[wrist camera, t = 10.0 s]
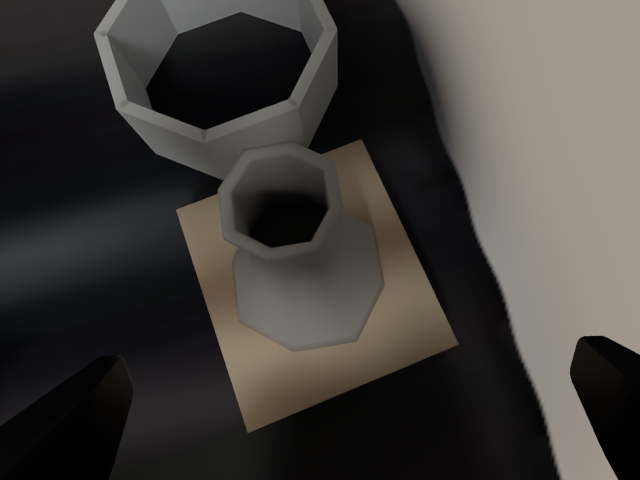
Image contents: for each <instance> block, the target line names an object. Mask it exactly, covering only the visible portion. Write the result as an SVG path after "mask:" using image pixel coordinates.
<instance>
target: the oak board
mask: <svg viewBox="0 0 640 480" xmlns="http://www.w3.org/2000/svg"><path fill="white" fill-rule="evenodd" d="M321 155H323V156H325V157H327V158H330V159H332V160H334V161H335V165H336V170H337V175H338V181H339V186H340V191H341V196H342V202H343V207H344V211H343V212H345V213H347V214H349V215H351V216H353V217H355V218H357V219H359V220H361V221H363V222H366V223H368V224H370V225H372V226H373V230H374V234H375V239H376V244H377V249H378V254H379V259H380V263H381V268H382V273H383V278H384V283H385V286H384V288H383V290H382V292H381V294H380V296H379V298H378V300H377V302H376V304H375V306H374V308H373V310H372V312H371V314H370V316H369V318H368V320H367V322H366V325H365V327H364V329H363V331H362V333H361V335H360V337H359V339H358V341H357V342H352V343H346V344H340V345H334V346H328V347H322V348H317V349H311V350H305V351H299V352H292V351H290V350H288V349H286V348H285V347H283V346H281V345H279V344H277V343H275V342H274V341H272V340H270V339H268V338H266V337H264V336H263V335H261V334H259V333H257V332H255V331H254V330H252V329H250V328H248V327H246V326H244V325H243V324H241V323H239V322H238V314H237V305H236V296H235V287H234V278H233V269H232V260H233V258H234V256H235V254H236V253H237V251H238V249H239V248H238V247H236V246H235V245H233V244H231V243H229V242H227V241H225V240H224V239H223V236H222V227H221V217H220V208H219V199H218V194H216V195H214V196H211V197H208V198H206V199H203V200H201V201H198V202H195V203H193V204H190V205H187V206H185V207H182V208H180V209H177V210H176V211H177V214H178V217H179V220H180V223H181V227H182V230H183V233H184V236H185V239H186V242H187V245H188V248H189V251H190V255H191V258H192V261H193V264H194V267H195V270H196V273H197V276H198V279H199V282H200V286H201V289H202V292H203V295H204V298H205V301H206V304H207V307H208V310H209V313H210V317H211V320H212V323H213V326H214V329H215V332H216V335H217V338H218V341H219V345H220V348H221V351H222V354H223V357H224V360H225V363H226V366H227V369H228V372H229V376H230V379H231V382H232V385H233V388H234V391H235V394H236V397H237V400H238V403H239V407H240V410H241V413H242V416H243V419H244V422H245V425H246V428H247V431H248V433H249V432H251V431H254V430H256V429H258V428H261V427H263V426H266V425H268V424H270V423H273V422H275V421H277V420H280V419H282V418H285V417H287V416H289V415H292V414H294V413H297V412H299V411H301V410H304V409H306V408H308V407H311V406H313V405H316V404H318V403H320V402H323V401H325V400H328V399H330V398H332V397H335V396H337V395H339V394H342V393H344V392H347V391H349V390H351V389H354V388H356V387H359V386H361V385H363V384H366V383H368V382H371V381H373V380H375V379H378V378H380V377H382V376H385V375H387V374H390V373H392V372H394V371H397V370H399V369H402V368H404V367H406V366H409V365H411V364H413V363H416V362H418V361H421V360H423V359H425V358H428V357H430V356H433V355H435V354H437V353H440V352H442V351H444V350H447V349H449V348H452V347H454V346H456V345H459V344H458V342H457V340H456V337H455V335H454V333H453V331H452V329H451V327H450V325H449V323H448V321H447V318H446V316H445V314H444V312H443V310H442V308H441V306H440V304H439V302H438V299H437V297H436V295H435V293H434V291H433V289H432V287H431V285H430V283H429V280H428V278H427V276H426V274H425V272H424V270H423V268H422V266H421V264H420V261H419V259H418V257H417V255H416V253H415V251H414V249H413V247H412V245H411V243H410V240H409V238H408V236H407V234H406V232H405V230H404V228H403V226H402V224H401V221H400V219H399V217H398V215H397V213H396V211H395V209H394V207H393V205H392V202H391V200H390V198H389V196H388V194H387V192H386V190H385V188H384V186H383V183H382V181H381V179H380V177H379V175H378V173H377V171H376V169H375V167H374V164H373V162H372V160H371V158H370V156H369V154H368V152H367V150H366V148H365V145H364V143H363V141H362V139H361V140H358V141H355V142H353V143H350V144H347V145H345V146H342V147H340V148H337V149H334V150H332V151H329V152H326V153H324V154H321Z"/></svg>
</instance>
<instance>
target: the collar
mask: <svg viewBox="0 0 640 480" xmlns="http://www.w3.org/2000/svg"><path fill="white" fill-rule="evenodd" d="M239 12H243V13H246V14H249V15H252V16H255V17H258V18H261V19H264V20H267V21H270V22H273V23H276V24H279V25H282V26H285V27H288V28H291V29H294V30H297V31H300V32H302V34H303V37H304V39H305V41H306V43H307V45H308V47H309V49H310V52H311V54H312V55H311V57H310V59H309V61H308V63H307V65H306V66H305V68H304V70H303V72H302V74H301V76H300V78H299V80H298V82H297V84H296V86H295V88H294V90H293V92H292V94H291V96H290V98H289V99H288V100H285V101H282V102H280V103H277V104H274V105H272V106H269V107H266V108H264V109H261V110H258V111H256V112H253V113H250V114H247V115H245V116H242V117H239V118H237V119H234V120H231V121H229V122H226V123H223V124H220V125H218V126H215V127H212V128H210V129H207V130H202V129H200V128H197V127H194V126H192V125H189V124H187V123H184V122H181V121H179V120H176V119H174V118H171V117H168V116H166V115H163V114H160V113H158V112H155V111H153V109H152V106H151V103H150V100H149V97H148V94H147V91H146V87H147V85H148V83H149V82H150V80H151V78H152V77H153V75H154V73H155V72H156V70H157V68H158V67H159V65H160V63H161V62H162V60H163V58H164V57H165V55H166V53H167V52H168V50H169V49H170V47H171V45H172V44H173V42H174V40H175V39H176V37H177V35H178V34H180V33H183V32H186V31H188V30H191V29H194V28H197V27H200V26H203V25H205V24H208V23H211V22H214V21H217V20H219V19H222V18H225V17H228V16H231V15H234V14H236V13H239ZM94 37H95V40H96V43H97V47H98V50H99V53H100V57H101V60H102V63H103V67H104V70H105V73H106V77H107V80H108V83H109V86H110V90H111V93H112V96H113V100H114V103H115V106H116V109H117V110H118V112H119V113H120V114H121V115H122V116H123V117H124V118H125V119H126V121H127V122H128V123H129V124H130V125H131V126H132V127H133V128H134V130H135V131H136V132H137V133H138V134H139V135H140V136H141V137H142V139H143V140H144V141H145V142H146V143H147V144H148V145H149V146H150V147H151V149H152V150H153V151H154V152H155V153H156V154H158V155H161V156H163V157H166V158H168V159H171V160H173V161H176V162H178V163H181V164H183V165H186V166H188V167H191V168H193V169H196V170H198V171H201V172H203V173H206V174H208V175H211V176H213V177H216V178H218V179H221V180H224V179H225V177H226V175H227V174H228V172H229V171H230V169H231V167H232V166H233V164H234V163H235V161H236V159H237V158H238V156H239V154H240V153H241V151H242V150H243V149H246V148H252V147H258V146H264V145H270V144H276V143H282V142H288V141H292V142H295V143H297V144H299V145H301V146H303V147H305V148H308V147H309V145H310V143H311V141H312V139H313V137H314V134H315V132H316V130H317V128H318V126H319V124H320V122H321V120H322V118H323V116H324V113H325V111H326V109H327V107H328V105H329V103H330V101H331V99H332V97H333V95H334V93H335V90H336V88H337V86H338V65H337V27H336V25H335V23H334V21H333V19H332V17H331V15H330V13H329V11H328V9H327V7H326V5H325V3H324V1H323V0H116V1H115V2H114V4H113V5H112V7H111V8H110V10H109V11H108V13H107V14H106V16H105V17H104V19H103V20H102V22H101V23H100V25H99V26H98V28H97V29H96V31H95V32H94Z"/></svg>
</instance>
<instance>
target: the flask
mask: <svg viewBox="0 0 640 480" xmlns="http://www.w3.org/2000/svg"><path fill="white" fill-rule="evenodd" d="M218 199H219V208H220V217H221V227H222V236H223V239H224V240H225V241H227V242H229V243H231V244H233V245H235V246H236V247H238V248H239V249H238V251H237V253H236V254H235V256H234V258H233V260H232V269H233V278H234V287H235V296H236V305H237V314H238V322H239V323H241V324H243V325H244V326H246V327H248V328H250V329H252V330H254V331H255V332H257V333H259V334H261V335H263V336H264V337H266V338H268V339H270V340H272V341H274V342H275V343H277V344H279V345H281V346H283V347H285V348H286V349H288V350H290V351H292V352H299V351H305V350H311V349H317V348H322V347H328V346H334V345H340V344H346V343H352V342H357V341H358V339H359V337H360V335H361V333H362V331H363V329H364V327H365V325H366V322H367V320H368V318H369V316H370V314H371V312H372V310H373V308H374V306H375V304H376V302H377V300H378V298H379V296H380V294H381V292H382V290H383V288H384V286H385V283H384V278H383V273H382V268H381V263H380V259H379V254H378V249H377V244H376V239H375V234H374V230H373V226H372V225H370V224H368V223H366V222H363V221H361V220H359V219H357V218H355V217H353V216H351V215H349V214H347V213H345V212H343V211H344V207H343V202H342V196H341V191H340V186H339V181H338V175H337V170H336V165H335V161H334V160H332V159H330V158H327V157H325V156H323V155H321V154H319V153H316V152H314V151H312V150H310V149H308V148H305V147H303V146H301V145H299V144H297V143H295V142H292V141H288V142H282V143H276V144H270V145H264V146H258V147H252V148H246V149H243V150H242V151H241V153H240V154H239V156H238V158H237V159H236V161H235V163H234V164H233V166H232V167H231V169H230V171H229V172H228V174H227V175H226V177H225V179H224V180H223V182H222V184H221V185H220V187H219V188H218Z"/></svg>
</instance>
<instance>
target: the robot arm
mask: <svg viewBox="0 0 640 480" xmlns="http://www.w3.org/2000/svg"><path fill="white" fill-rule="evenodd" d="M570 376H571V380H572V383H573V385H574V387H575V389H576V391H577V394H578V396H579V398H580V401H581V403H582V405H583V407H584V409H585V412H586V414H587V416H588V419H589V421H590V423H591V426H592V428H593V430H594V432H595V434H596V437H597V439H598V442H599V444H600V446H601V448H602V450H603V452H604V454H605V456H606V458H607V460H608V462H609V464H610V466H611V467H612V469H613V471H614V473H615V475H616V476H617V478H618V480H640V355H639V354H637V353H635V352H634V351H632V350H630V349H628V348H626V347H624V346H622V345H620V344H618V343H616V342H614V341H613V340H610V339H609V338H606V337H604V336H584V337H581V338H580V339H579V340H578V342H577V345H576V349H575V352H574V356H573V360H572V363H571V367H570ZM133 393H134V388H133V383H132V380H131V377H130V374H129V371H128V368H127V365H126V362H125V360H124V358H123V357H121V356H118V355H115V356H101V357H99V358H97V359H96V360H94V361H93V362H91V363H90V364H88V365H87V366H86V367H84V368H83V369H81V370H80V371H78V372H77V373H75V374H74V375H73V376H71V377H70V378H68V379H67V380H65V381H64V382H63V383H61V384H60V385H58V386H57V387H55V388H54V389H53V390H51V391H50V392H48V393H47V394H45V395H44V396H43V397H41V398H40V399H38V400H37V401H35V402H34V403H33V404H31V405H30V406H28V407H27V408H25V409H24V410H23V411H21V412H20V413H18V414H17V415H15V416H14V417H13V418H11V419H10V420H8V421H7V422H5V423H4V424H3V425H1V426H0V480H108V479H109V476H110V474H111V471H112V468H113V465H114V461H115V458H116V455H117V451H118V448H119V444H120V441H121V437H122V434H123V430H124V427H125V423H126V420H127V416H128V413H129V409H130V406H131V402H132V399H133Z"/></svg>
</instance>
